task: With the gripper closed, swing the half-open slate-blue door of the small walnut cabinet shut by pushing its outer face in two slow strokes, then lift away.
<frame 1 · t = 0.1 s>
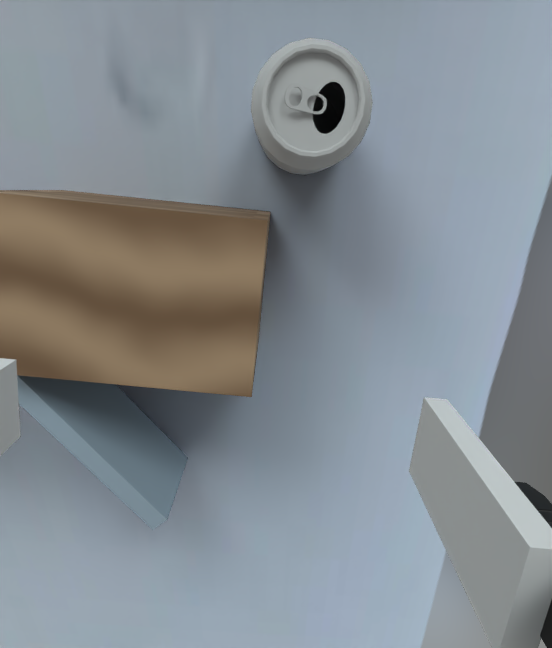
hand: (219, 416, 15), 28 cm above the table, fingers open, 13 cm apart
can: (302, 128, 39), on the table
door: (96, 423, 40), point 6 cm above the table, hinge at 45.0°
cabinet: (164, 269, 42), on the table
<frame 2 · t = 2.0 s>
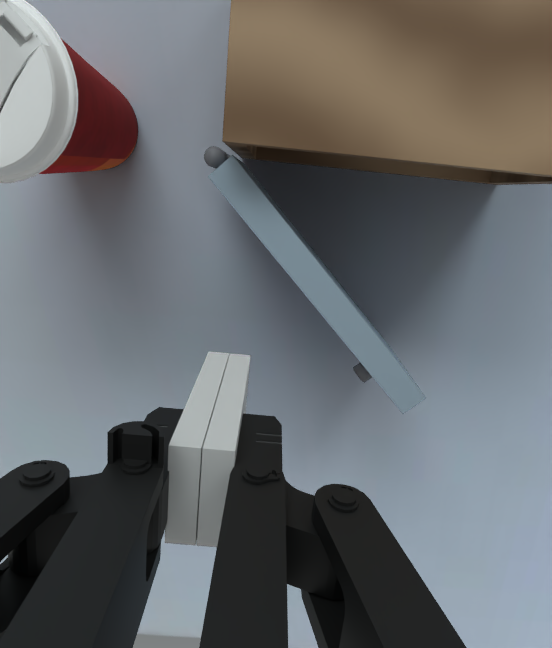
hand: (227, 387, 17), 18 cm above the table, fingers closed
door: (305, 277, 29), point 6 cm above the table, hinge at 45.0°
cabinet: (384, 76, 31), on the table
paper cup: (98, 127, 32), on the table
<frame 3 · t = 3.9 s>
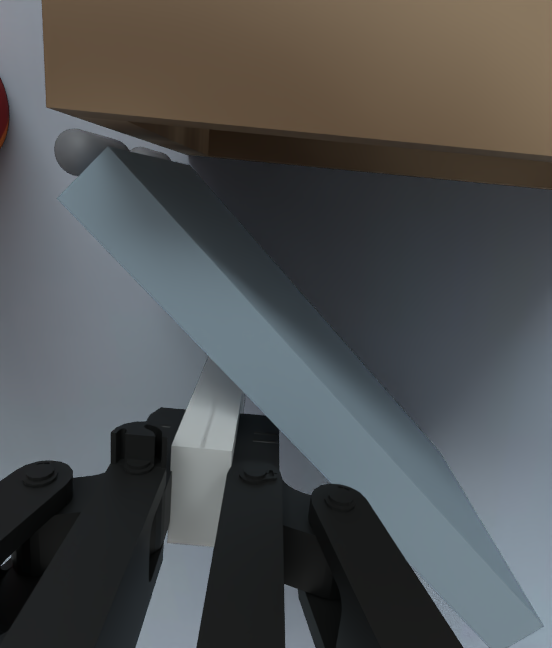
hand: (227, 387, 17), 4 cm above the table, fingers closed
door: (297, 369, 16), point 5 cm above the table, hinge at 43.7°, touching gripper
cabinet: (431, 9, 18), on the table
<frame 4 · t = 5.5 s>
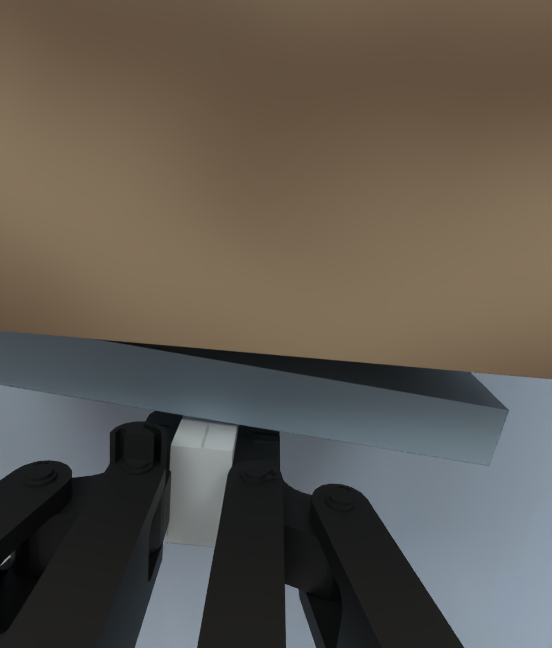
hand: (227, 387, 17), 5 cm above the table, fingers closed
door: (179, 339, 16), point 5 cm above the table, hinge at 5.1°, touching gripper
cabinet: (234, 107, 19), on the table
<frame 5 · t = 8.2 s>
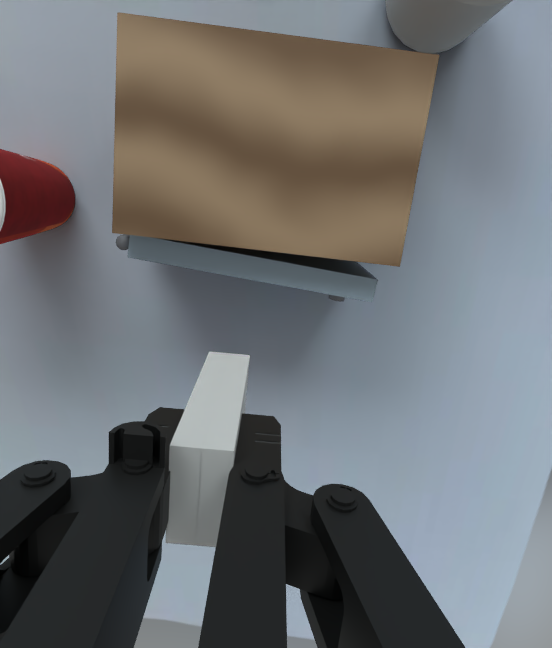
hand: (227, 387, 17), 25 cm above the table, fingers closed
can: (430, 3, 36), on the table
door: (248, 264, 36), point 5 cm above the table, hinge at 3.9°
cabinet: (270, 162, 39), on the table
paper cup: (43, 196, 40), on the table
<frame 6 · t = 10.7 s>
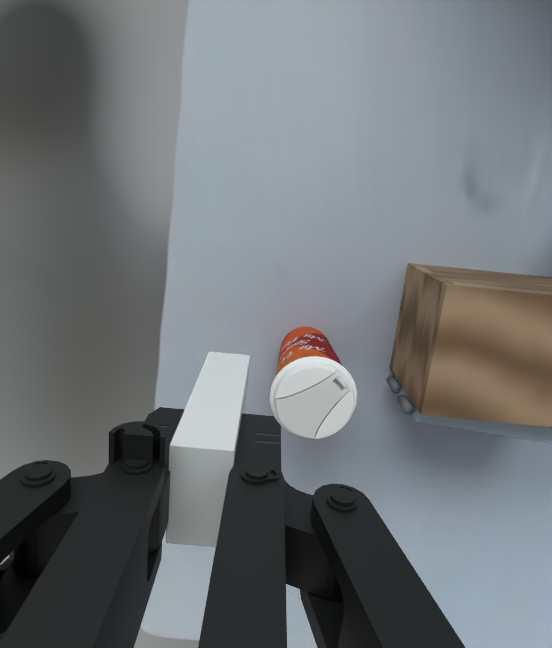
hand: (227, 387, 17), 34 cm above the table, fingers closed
door: (476, 410, 49), point 6 cm above the table, hinge at 3.9°
cabinet: (478, 324, 52), on the table
paper cup: (304, 349, 54), on the table
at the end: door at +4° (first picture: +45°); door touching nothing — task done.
